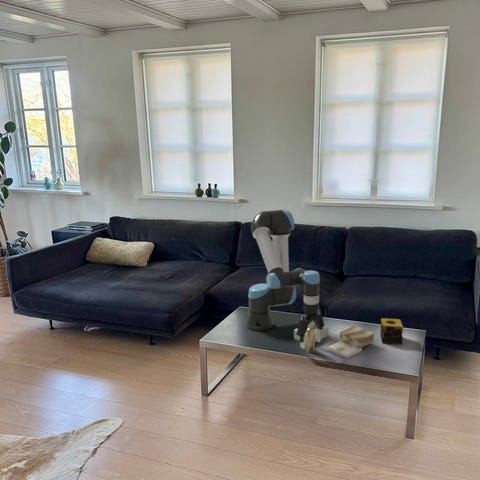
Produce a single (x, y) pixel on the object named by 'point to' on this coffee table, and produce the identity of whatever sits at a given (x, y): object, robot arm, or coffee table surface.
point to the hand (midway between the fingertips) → (310, 344)
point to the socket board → (323, 332)
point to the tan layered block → (356, 337)
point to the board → (343, 349)
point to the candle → (391, 331)
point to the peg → (310, 339)
